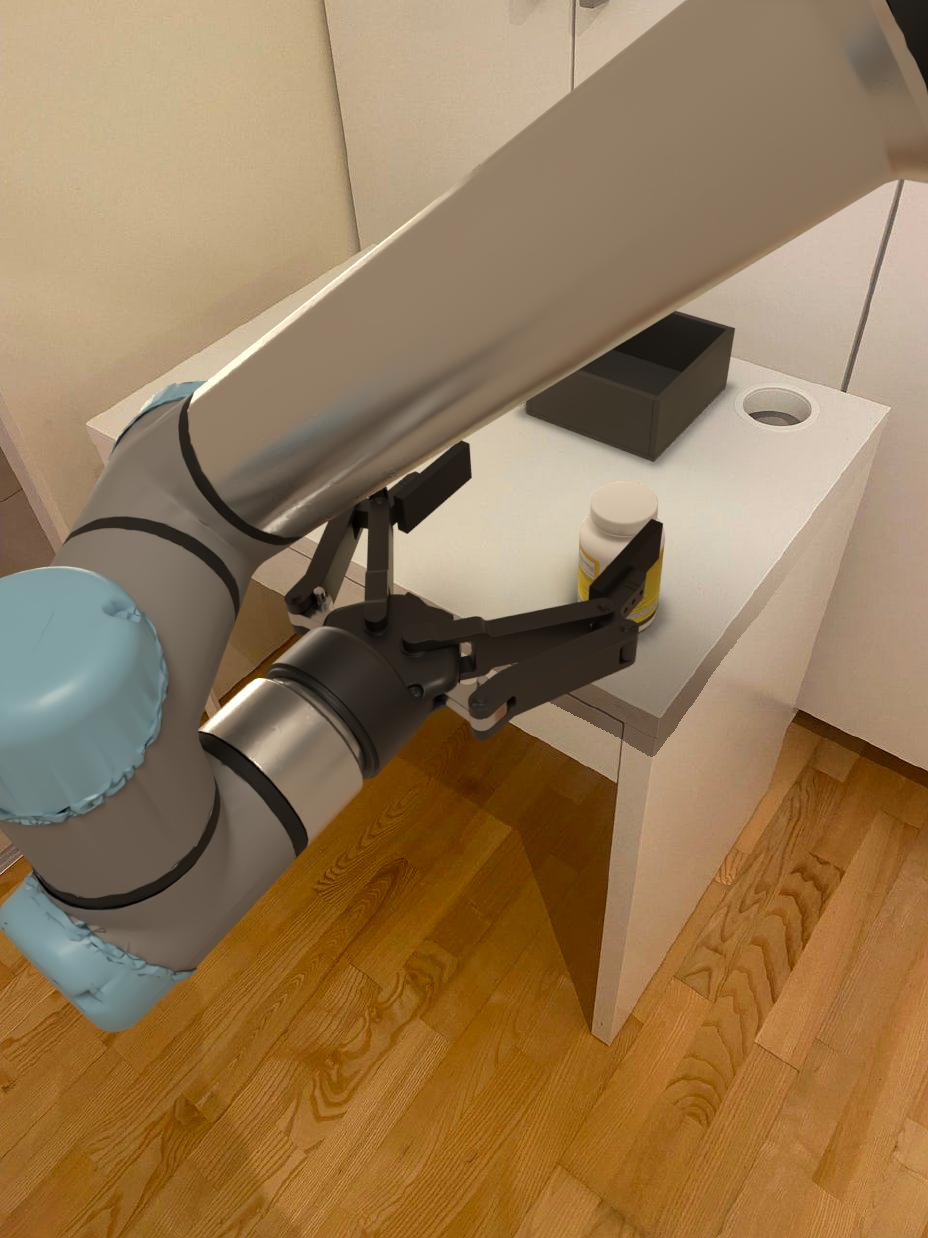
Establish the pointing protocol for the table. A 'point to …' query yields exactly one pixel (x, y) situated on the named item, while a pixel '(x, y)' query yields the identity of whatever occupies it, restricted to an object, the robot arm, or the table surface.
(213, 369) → the table surface
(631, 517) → the pill bottle
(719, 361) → the basket
